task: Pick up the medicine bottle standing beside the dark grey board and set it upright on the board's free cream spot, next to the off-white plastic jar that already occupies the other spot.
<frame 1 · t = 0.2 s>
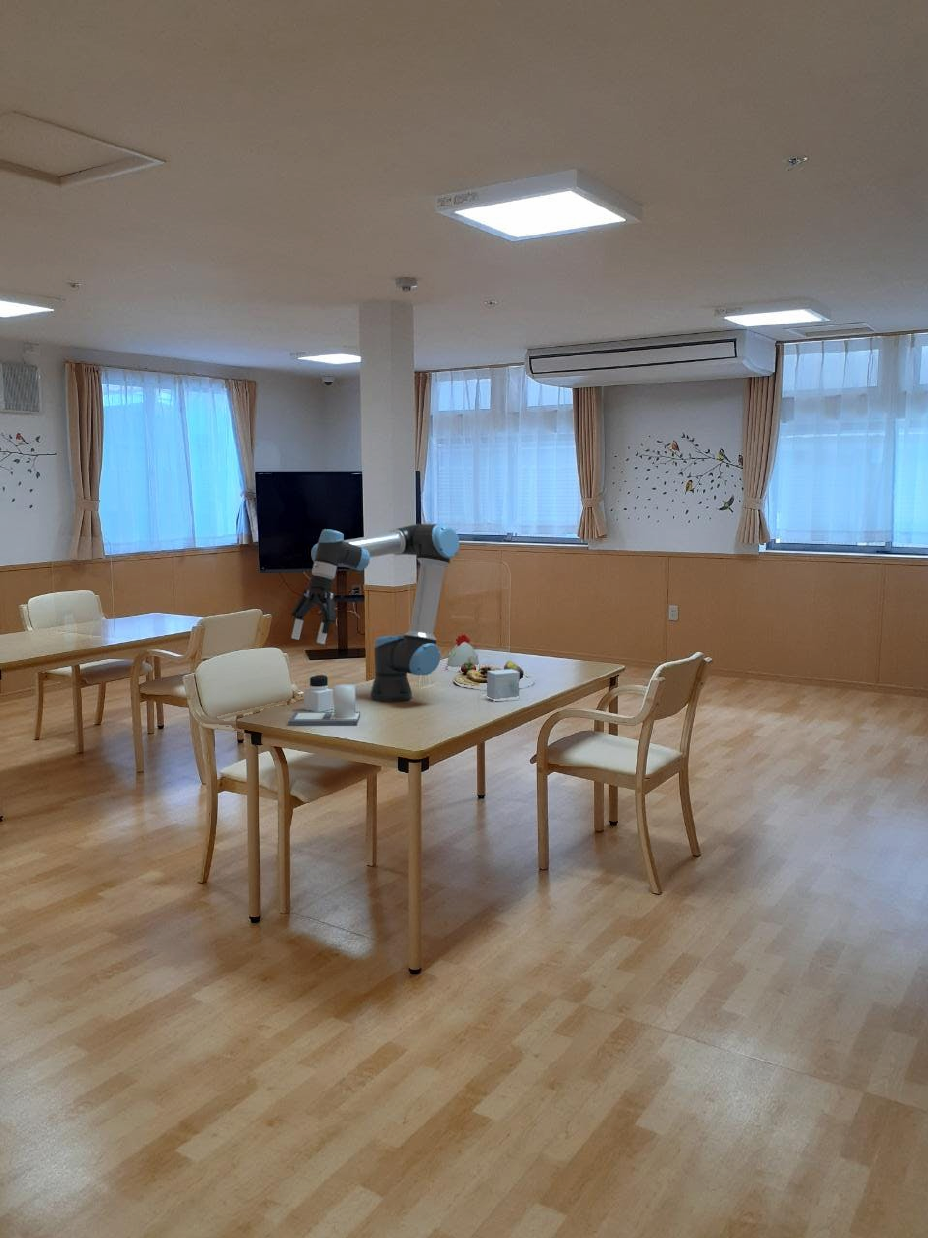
hand: (307, 641, 326), 28 cm above the table, tool tilted 20°, fingers open, 13 cm apart
white dome figure: (463, 670, 432), on the table
dock board: (325, 720, 336), on the table
skincare box: (503, 700, 371), on the table
plastic jar: (344, 716, 336), point 2 cm above the table, touching dock board
medicine bottle: (319, 710, 353), on the table
wooden plate with food: (493, 684, 403), on the table
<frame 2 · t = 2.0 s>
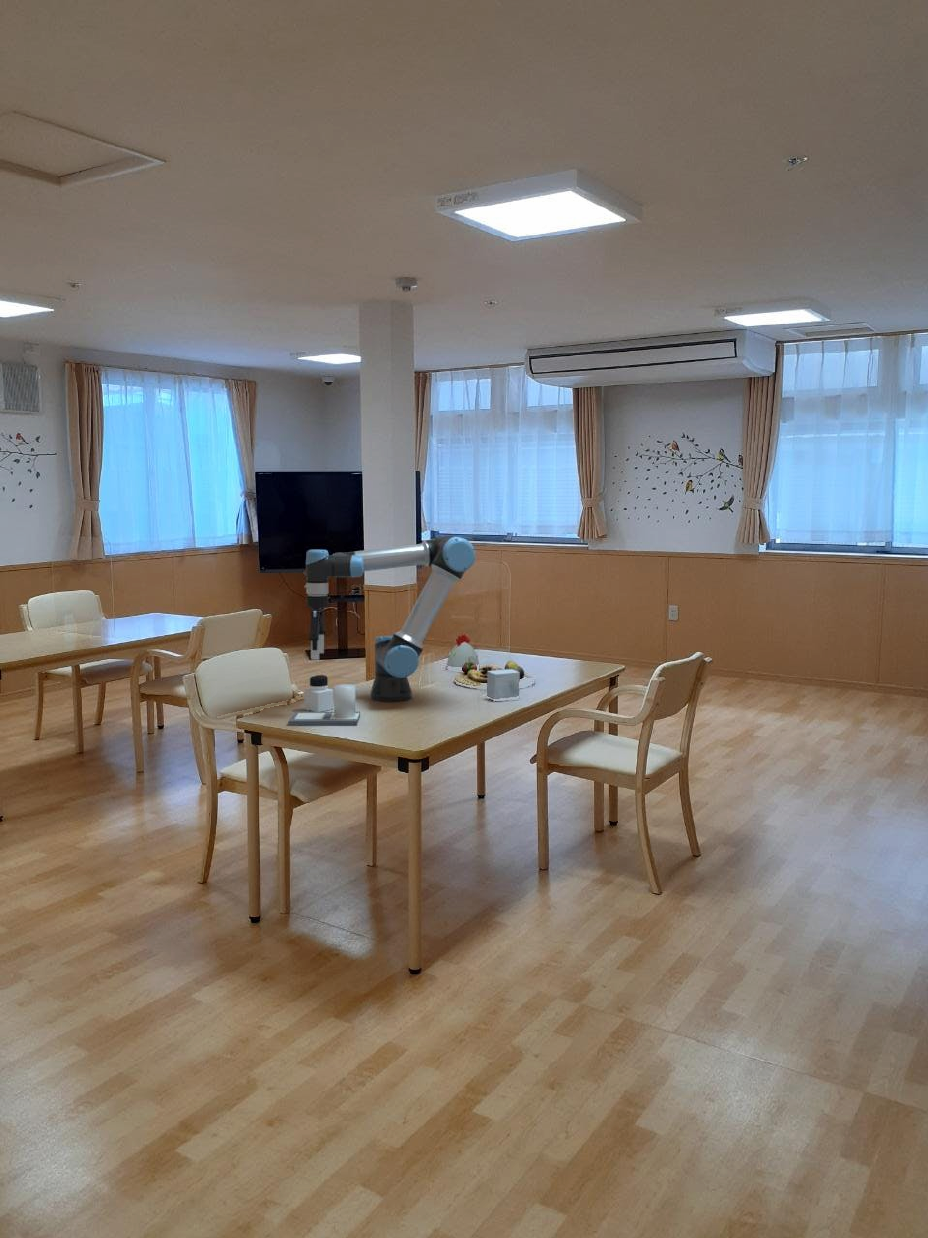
hand: (317, 656, 350), 19 cm above the table, tool pointing down, fingers open, 13 cm apart
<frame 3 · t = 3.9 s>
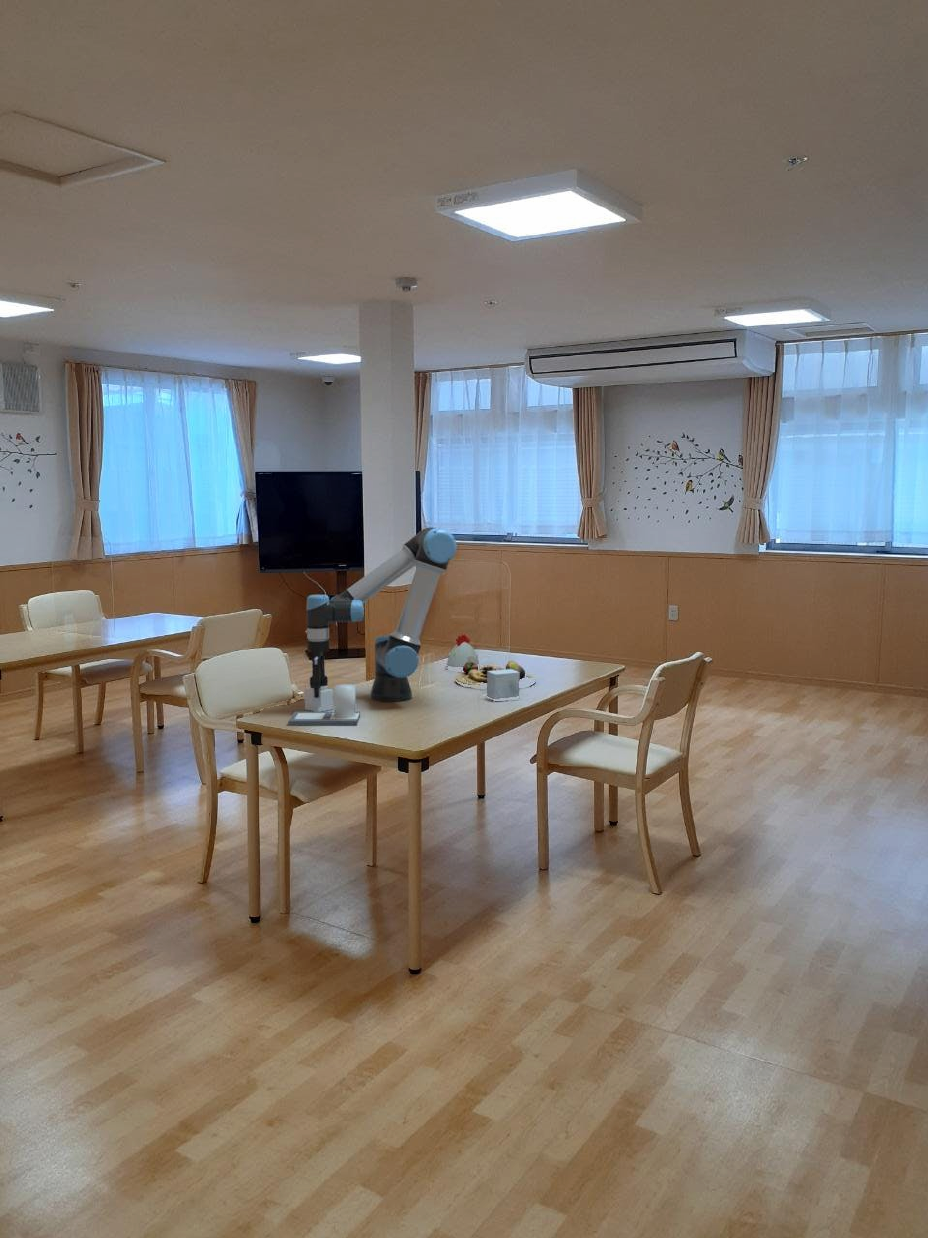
hand: (319, 703, 352), 2 cm above the table, tool pointing down, fingers closed on medicine bottle, 10 cm apart
medicine bottle: (319, 710, 353), on the table, touching gripper
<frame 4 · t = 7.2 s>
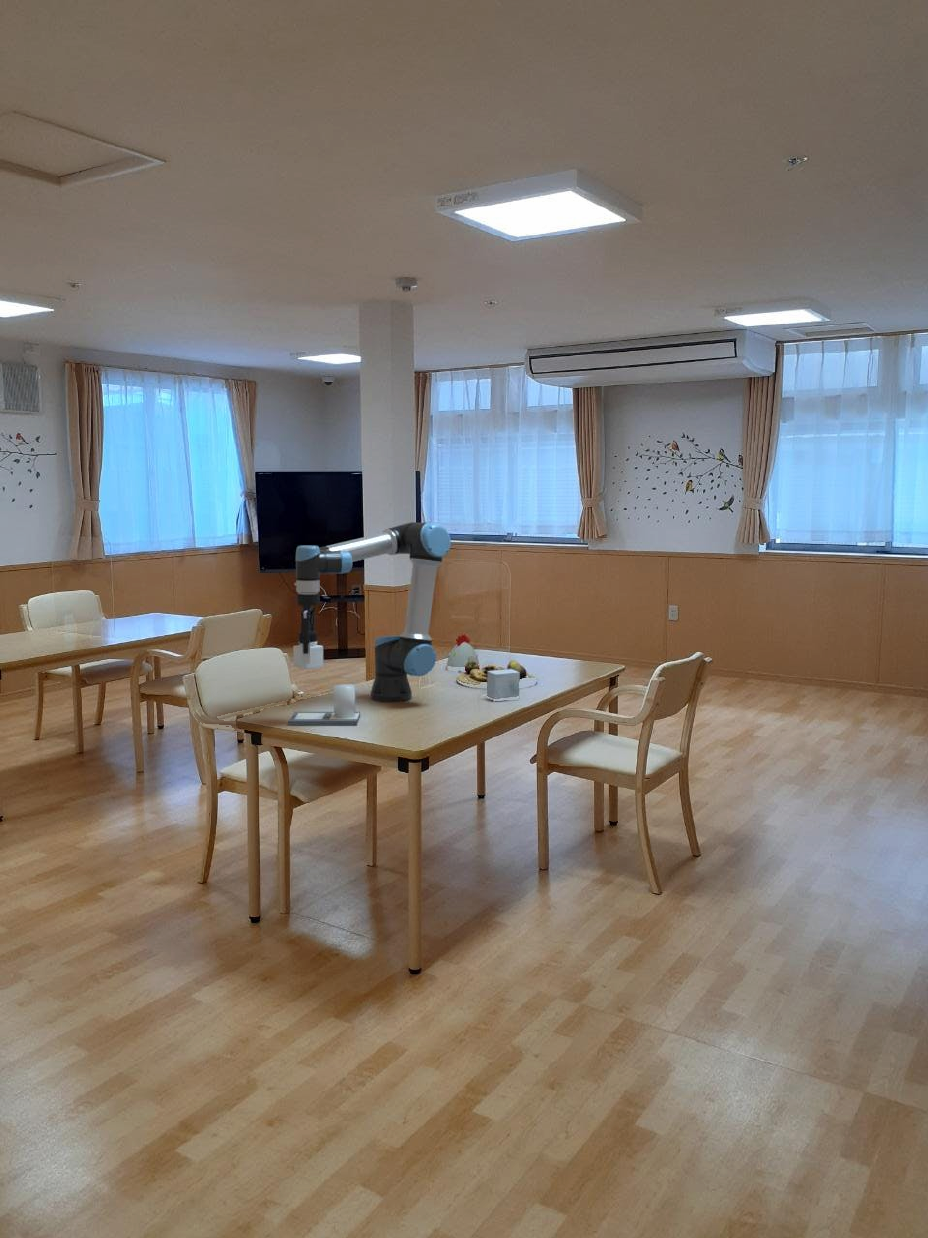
hand: (308, 660, 334), 20 cm above the table, tool pointing down, fingers closed on medicine bottle, 10 cm apart
medicine bottle: (308, 667, 334), point 18 cm above the table, touching gripper
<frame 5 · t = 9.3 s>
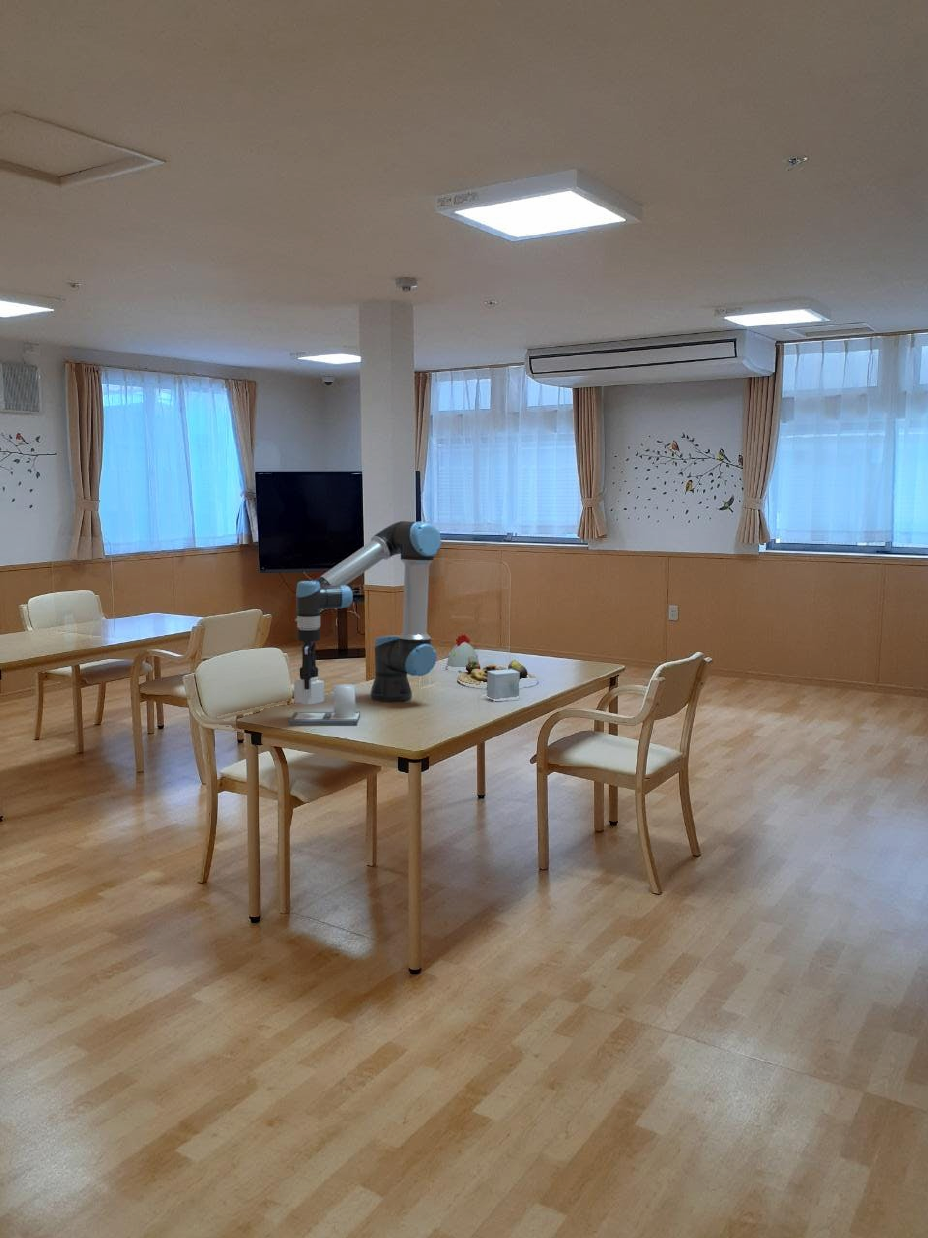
hand: (309, 695, 334), 8 cm above the table, tool pointing down, fingers closed on medicine bottle, 10 cm apart
medicine bottle: (309, 702, 335), point 6 cm above the table, touching gripper
when the fingers open (6 cm above the table, at t = 10.9 s): medicine bottle drops 2 cm, resting on dock board.
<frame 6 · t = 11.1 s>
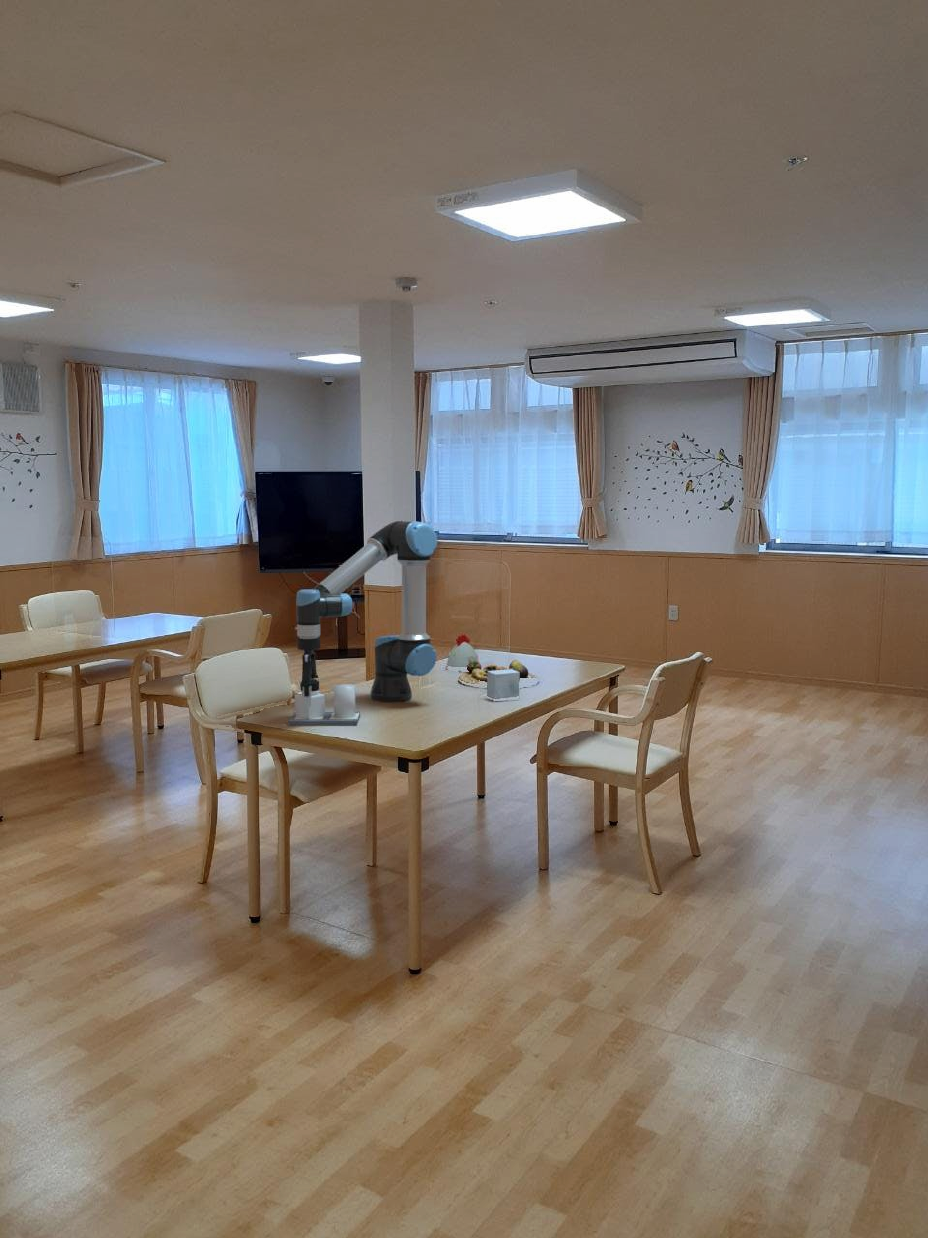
hand: (309, 702, 335), 6 cm above the table, tool pointing down, fingers open, 12 cm apart
medicine bottle: (310, 716, 336), point 1 cm above the table, touching dock board
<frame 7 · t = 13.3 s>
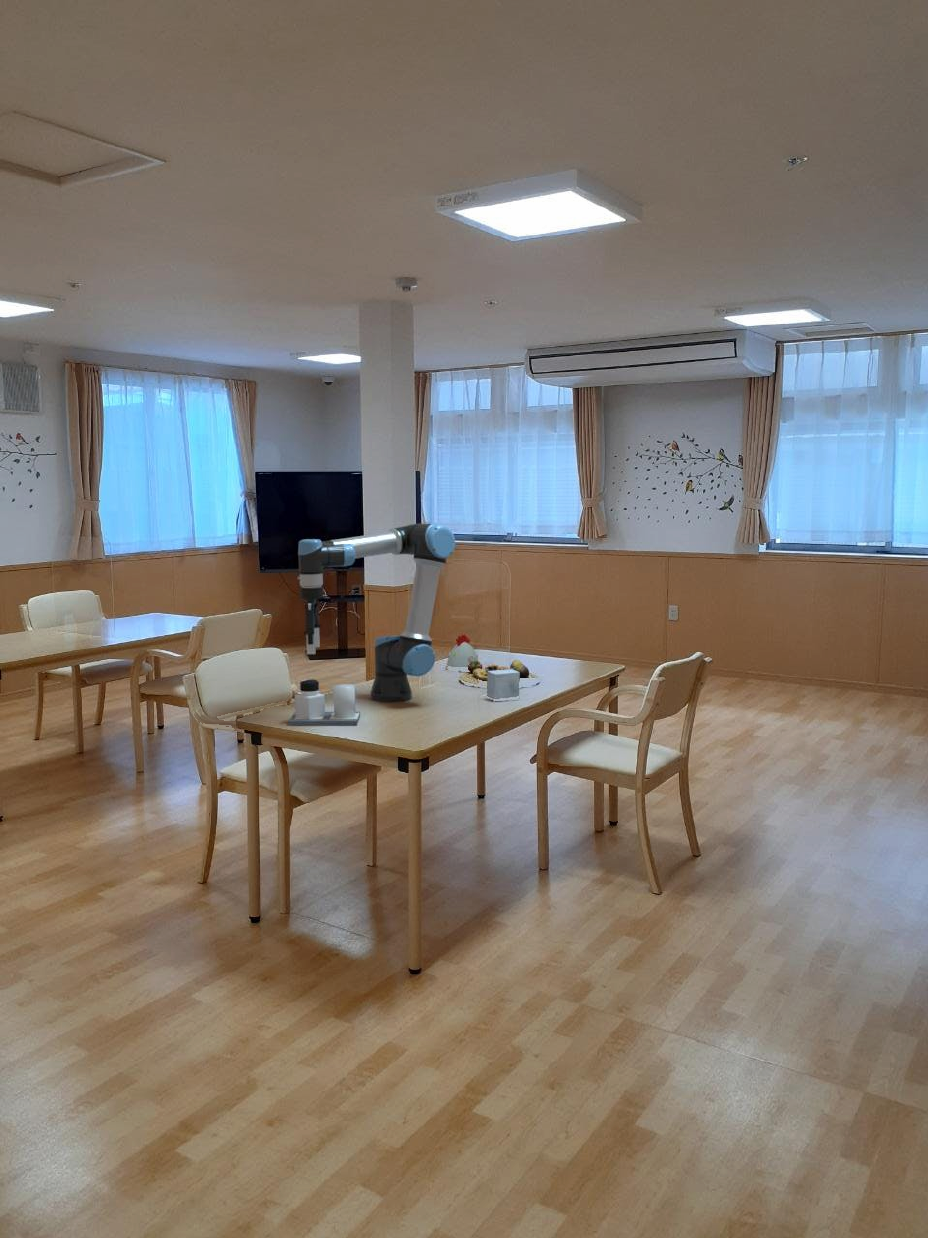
hand: (313, 650, 336), 23 cm above the table, tool pointing down, fingers open, 13 cm apart
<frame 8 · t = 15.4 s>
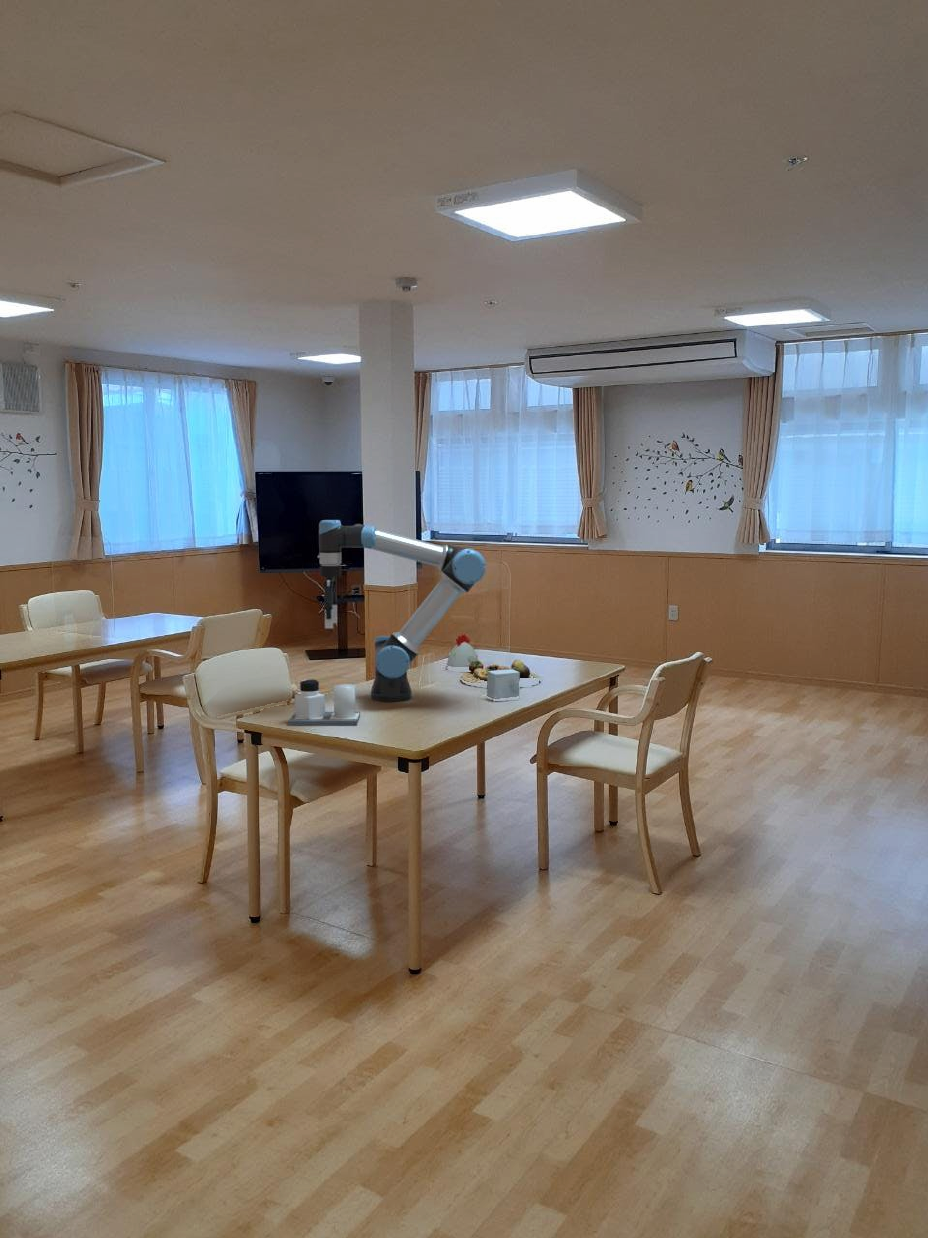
hand: (331, 625, 354), 29 cm above the table, tool pointing down, fingers open, 13 cm apart
at the end: medicine bottle 0.2 cm from the target spot on the dock board, point 1.4 cm above the dock board's base; medicine bottle tilted 0°; plastic jar moved 0.1 cm from its start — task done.
